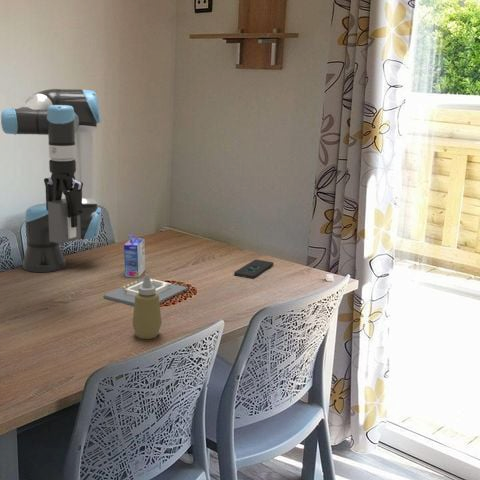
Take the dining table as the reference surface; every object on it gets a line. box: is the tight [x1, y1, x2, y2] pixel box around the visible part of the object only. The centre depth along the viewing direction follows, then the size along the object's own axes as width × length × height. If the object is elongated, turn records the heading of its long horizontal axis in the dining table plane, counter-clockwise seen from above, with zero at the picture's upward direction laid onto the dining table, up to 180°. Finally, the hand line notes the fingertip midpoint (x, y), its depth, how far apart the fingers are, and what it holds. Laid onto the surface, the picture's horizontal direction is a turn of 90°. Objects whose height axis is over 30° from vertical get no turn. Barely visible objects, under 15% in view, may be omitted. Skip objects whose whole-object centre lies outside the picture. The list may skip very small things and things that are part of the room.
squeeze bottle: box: [132, 273, 163, 340], centre depth 177 cm, size 8×8×18 cm
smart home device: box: [233, 259, 274, 280], centre depth 242 cm, size 8×2×20 cm
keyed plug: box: [48, 198, 82, 245], centre depth 192 cm, size 5×9×12 cm, turn 150°
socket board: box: [103, 278, 189, 307], centre depth 212 cm, size 18×22×2 cm
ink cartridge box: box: [123, 233, 146, 279], centre depth 231 cm, size 10×6×14 cm, turn 174°
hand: (65, 235), depth 193 cm, fingers closed on keyed plug, 5 cm apart
